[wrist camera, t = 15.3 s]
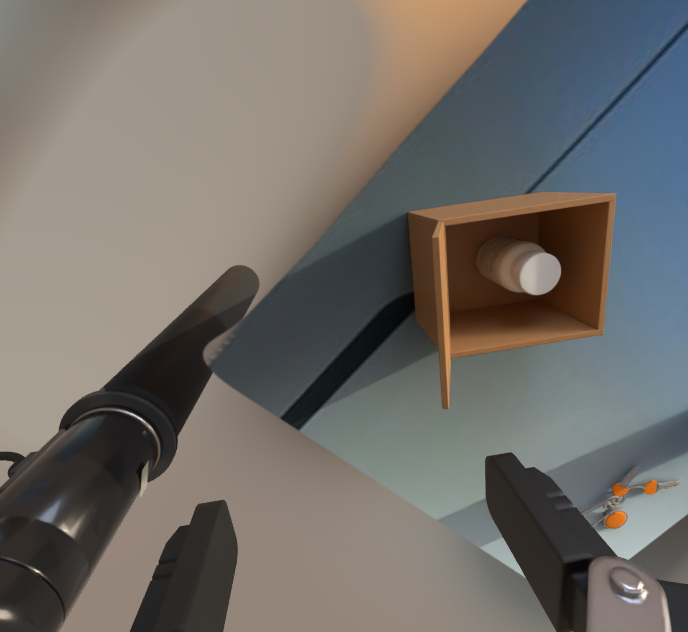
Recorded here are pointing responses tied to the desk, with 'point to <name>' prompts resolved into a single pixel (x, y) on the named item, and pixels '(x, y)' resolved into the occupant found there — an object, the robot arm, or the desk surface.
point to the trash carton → (498, 302)
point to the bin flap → (442, 311)
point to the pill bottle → (518, 265)
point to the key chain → (618, 516)
